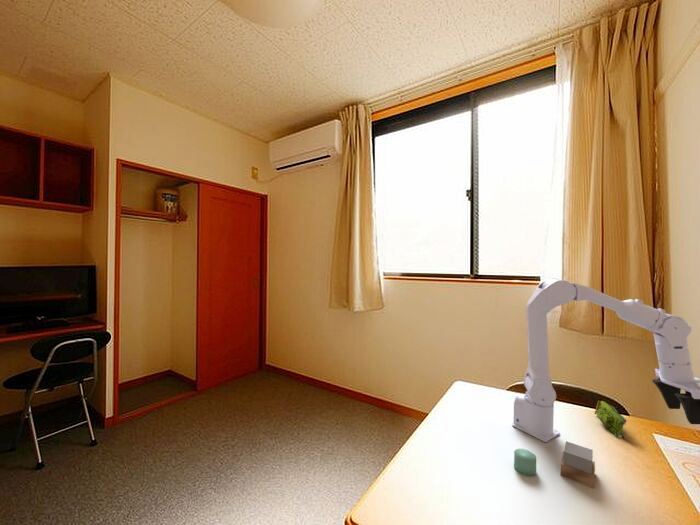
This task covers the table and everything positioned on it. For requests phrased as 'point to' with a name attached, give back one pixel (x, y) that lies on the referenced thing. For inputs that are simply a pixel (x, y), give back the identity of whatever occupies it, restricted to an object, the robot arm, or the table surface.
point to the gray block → (578, 457)
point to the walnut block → (578, 474)
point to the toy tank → (610, 418)
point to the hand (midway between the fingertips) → (684, 415)
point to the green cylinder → (525, 462)
